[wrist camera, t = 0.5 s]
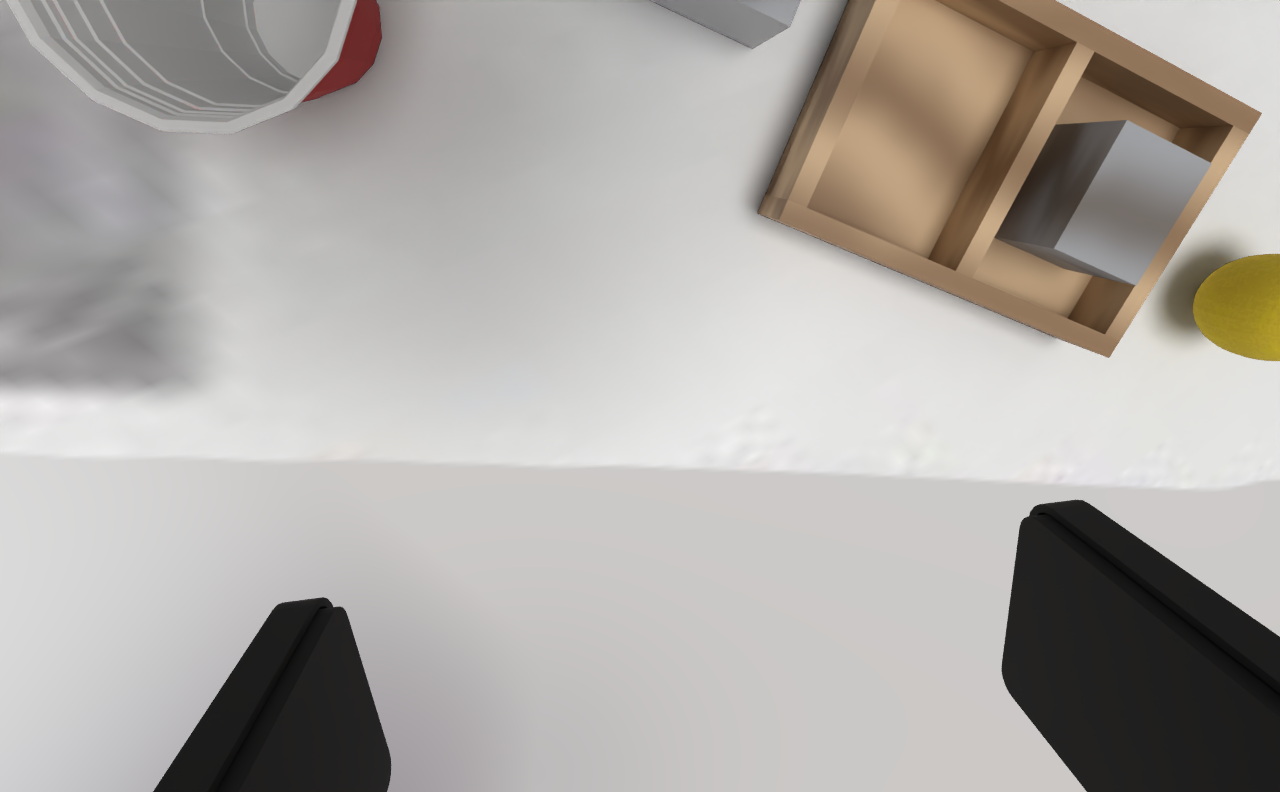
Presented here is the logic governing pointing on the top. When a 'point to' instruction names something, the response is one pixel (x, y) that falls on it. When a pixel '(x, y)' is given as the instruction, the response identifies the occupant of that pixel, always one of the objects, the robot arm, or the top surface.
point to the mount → (738, 17)
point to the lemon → (1242, 307)
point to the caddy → (1006, 158)
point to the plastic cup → (204, 55)
